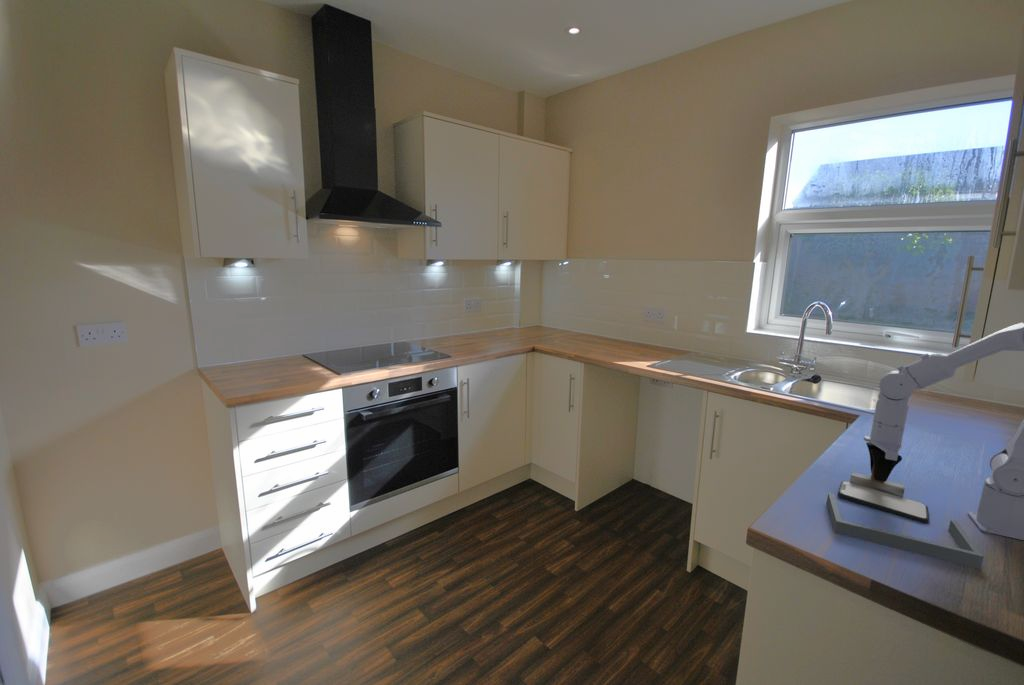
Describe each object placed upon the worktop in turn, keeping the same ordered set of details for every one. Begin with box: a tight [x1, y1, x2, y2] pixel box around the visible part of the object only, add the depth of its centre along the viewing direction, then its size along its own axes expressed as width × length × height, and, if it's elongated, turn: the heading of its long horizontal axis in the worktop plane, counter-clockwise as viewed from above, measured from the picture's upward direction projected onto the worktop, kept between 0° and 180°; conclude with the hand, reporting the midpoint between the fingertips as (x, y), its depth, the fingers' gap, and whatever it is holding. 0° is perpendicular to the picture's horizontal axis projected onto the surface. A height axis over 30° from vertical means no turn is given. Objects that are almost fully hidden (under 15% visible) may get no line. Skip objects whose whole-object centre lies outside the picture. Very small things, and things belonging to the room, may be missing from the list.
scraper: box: [849, 464, 906, 498], centre depth 110 cm, size 10×2×9 cm, turn 53°
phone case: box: [837, 480, 930, 524], centre depth 106 cm, size 9×2×16 cm
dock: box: [826, 492, 984, 570], centre depth 95 cm, size 22×13×2 cm, turn 62°
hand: (878, 477), depth 110 cm, fingers closed on scraper, 3 cm apart
